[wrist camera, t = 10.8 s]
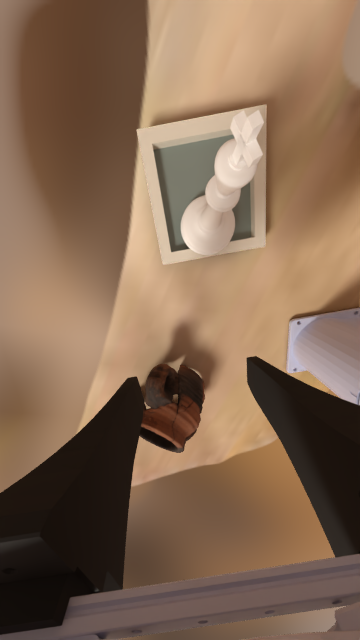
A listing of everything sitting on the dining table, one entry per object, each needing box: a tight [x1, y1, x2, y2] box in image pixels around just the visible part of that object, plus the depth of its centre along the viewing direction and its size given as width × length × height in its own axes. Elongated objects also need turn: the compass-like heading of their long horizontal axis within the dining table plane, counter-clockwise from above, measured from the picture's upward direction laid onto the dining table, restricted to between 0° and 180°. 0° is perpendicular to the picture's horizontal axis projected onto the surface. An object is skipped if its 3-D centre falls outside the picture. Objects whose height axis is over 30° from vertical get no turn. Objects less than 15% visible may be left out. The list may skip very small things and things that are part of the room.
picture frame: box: [137, 104, 267, 265], centre depth 16 cm, size 10×10×2 cm
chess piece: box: [181, 110, 264, 255], centre depth 11 cm, size 5×5×10 cm
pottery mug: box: [139, 364, 205, 453], centre depth 22 cm, size 12×10×8 cm
